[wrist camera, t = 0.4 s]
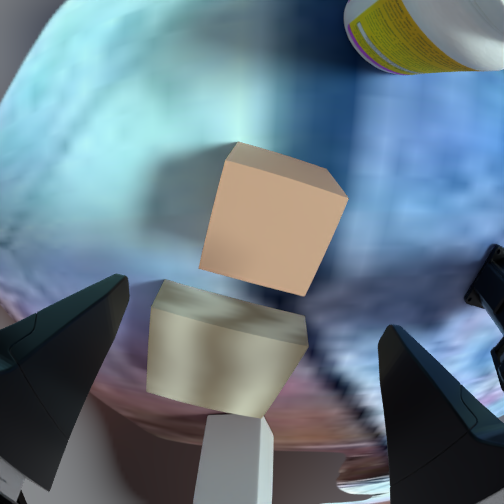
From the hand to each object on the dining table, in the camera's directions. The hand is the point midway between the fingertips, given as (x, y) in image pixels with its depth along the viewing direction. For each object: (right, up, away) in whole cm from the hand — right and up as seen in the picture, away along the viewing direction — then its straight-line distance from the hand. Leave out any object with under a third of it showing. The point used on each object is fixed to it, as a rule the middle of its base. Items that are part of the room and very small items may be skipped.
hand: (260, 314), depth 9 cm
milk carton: (-2, -21, +26) cm, 33 cm away
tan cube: (+1, +6, +11) cm, 12 cm away
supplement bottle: (+9, +16, +4) cm, 19 cm away
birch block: (-3, -7, +18) cm, 19 cm away
